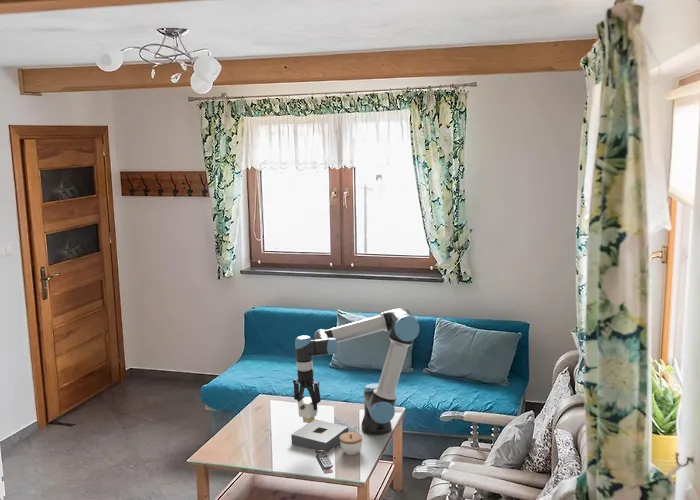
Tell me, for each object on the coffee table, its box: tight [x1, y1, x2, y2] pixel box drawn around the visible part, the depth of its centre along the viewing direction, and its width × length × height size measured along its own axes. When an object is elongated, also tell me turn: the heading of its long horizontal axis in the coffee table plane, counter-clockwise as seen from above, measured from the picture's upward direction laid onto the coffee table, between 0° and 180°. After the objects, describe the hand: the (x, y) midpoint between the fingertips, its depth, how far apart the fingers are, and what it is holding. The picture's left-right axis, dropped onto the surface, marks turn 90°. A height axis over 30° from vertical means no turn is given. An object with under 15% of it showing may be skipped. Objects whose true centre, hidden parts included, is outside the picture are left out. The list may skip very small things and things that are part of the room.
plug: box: [297, 396, 319, 424], centre depth 329 cm, size 6×9×10 cm
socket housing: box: [290, 418, 349, 453], centre depth 339 cm, size 20×20×5 cm
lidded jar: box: [339, 431, 363, 456], centre depth 325 cm, size 11×11×9 cm
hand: (308, 415), depth 330 cm, fingers closed on plug, 6 cm apart
